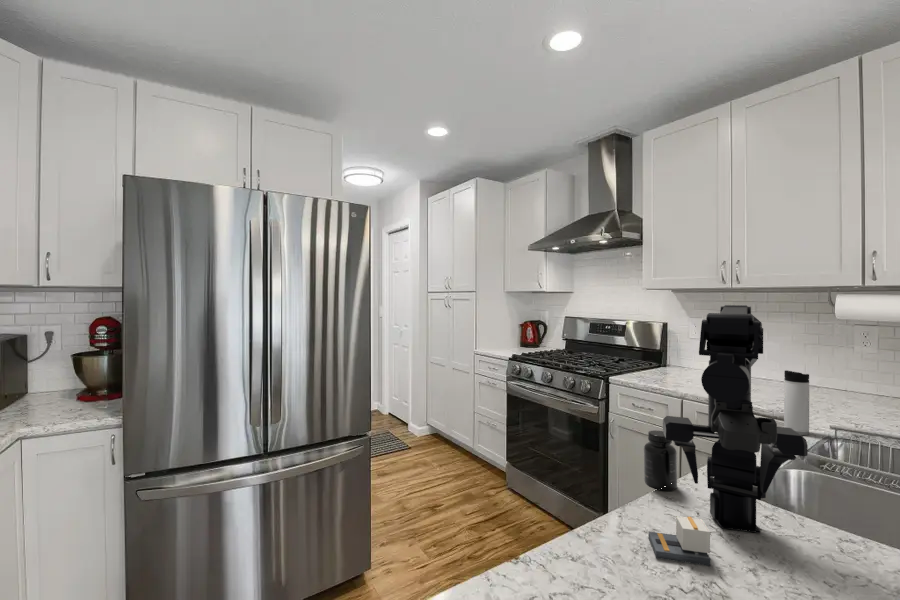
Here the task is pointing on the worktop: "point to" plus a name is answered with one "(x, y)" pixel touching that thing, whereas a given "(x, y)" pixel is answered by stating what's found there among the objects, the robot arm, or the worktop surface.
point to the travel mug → (796, 402)
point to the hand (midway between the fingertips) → (728, 487)
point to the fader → (693, 534)
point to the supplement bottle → (660, 462)
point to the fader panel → (675, 550)
